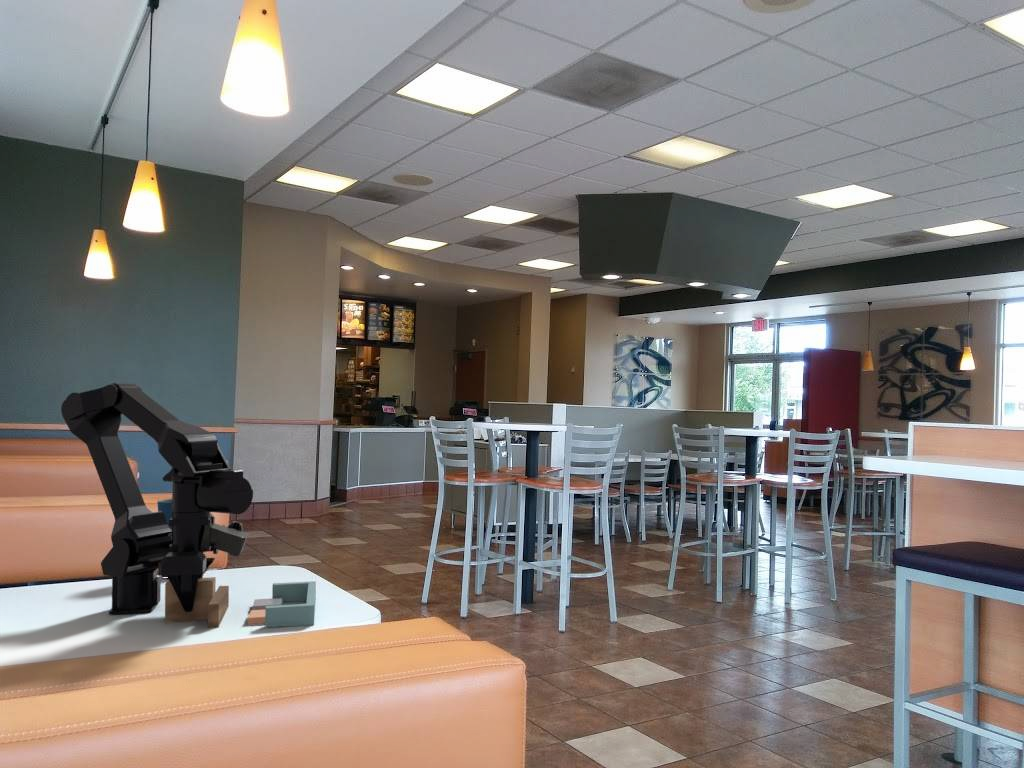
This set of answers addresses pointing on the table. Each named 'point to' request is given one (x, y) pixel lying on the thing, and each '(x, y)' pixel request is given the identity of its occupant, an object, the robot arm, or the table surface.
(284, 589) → the teal corner frame
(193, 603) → the robot arm
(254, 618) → the tile terracotta
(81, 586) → the table surface
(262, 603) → the tile slate
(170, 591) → the scraper
